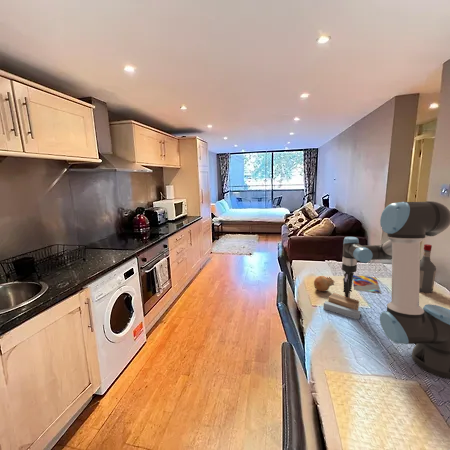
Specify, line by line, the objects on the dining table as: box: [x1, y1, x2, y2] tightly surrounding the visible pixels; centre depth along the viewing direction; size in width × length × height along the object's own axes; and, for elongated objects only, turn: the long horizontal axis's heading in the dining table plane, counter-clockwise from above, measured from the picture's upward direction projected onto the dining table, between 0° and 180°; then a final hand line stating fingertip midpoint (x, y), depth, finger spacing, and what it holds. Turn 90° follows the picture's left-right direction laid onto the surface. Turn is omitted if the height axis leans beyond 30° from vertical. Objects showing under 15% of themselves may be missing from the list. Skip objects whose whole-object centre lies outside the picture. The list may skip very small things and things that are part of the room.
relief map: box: [352, 274, 382, 295], centre depth 170 cm, size 25×15×2 cm, turn 155°
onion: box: [313, 275, 331, 293], centre depth 162 cm, size 10×10×10 cm
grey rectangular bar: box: [323, 300, 361, 320], centre depth 136 cm, size 3×18×4 cm, turn 50°
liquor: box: [419, 244, 437, 294], centre depth 156 cm, size 9×9×30 cm
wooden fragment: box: [326, 276, 335, 288], centre depth 173 cm, size 26×11×1 cm, turn 137°
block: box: [327, 292, 360, 311], centre depth 140 cm, size 7×14×6 cm, turn 42°
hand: (346, 302), depth 144 cm, fingers closed
